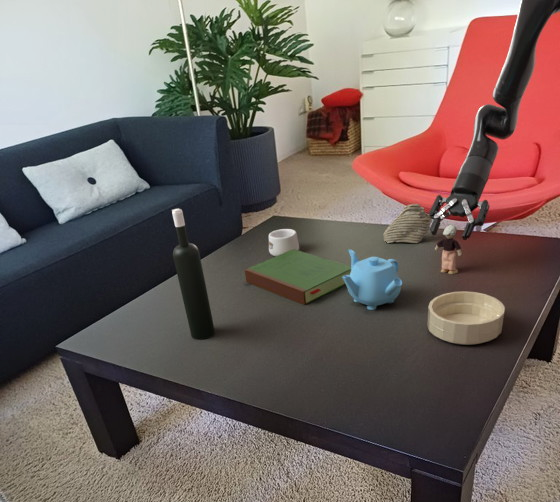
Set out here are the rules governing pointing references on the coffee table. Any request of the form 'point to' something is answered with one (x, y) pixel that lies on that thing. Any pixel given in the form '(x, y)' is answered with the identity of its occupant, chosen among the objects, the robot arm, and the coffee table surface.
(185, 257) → the wine bottle
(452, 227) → the grandmother figurine
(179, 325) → the coffee table surface
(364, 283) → the teapot
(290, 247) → the mug
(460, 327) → the bowl
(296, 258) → the hardcover book
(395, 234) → the fossil tooth
